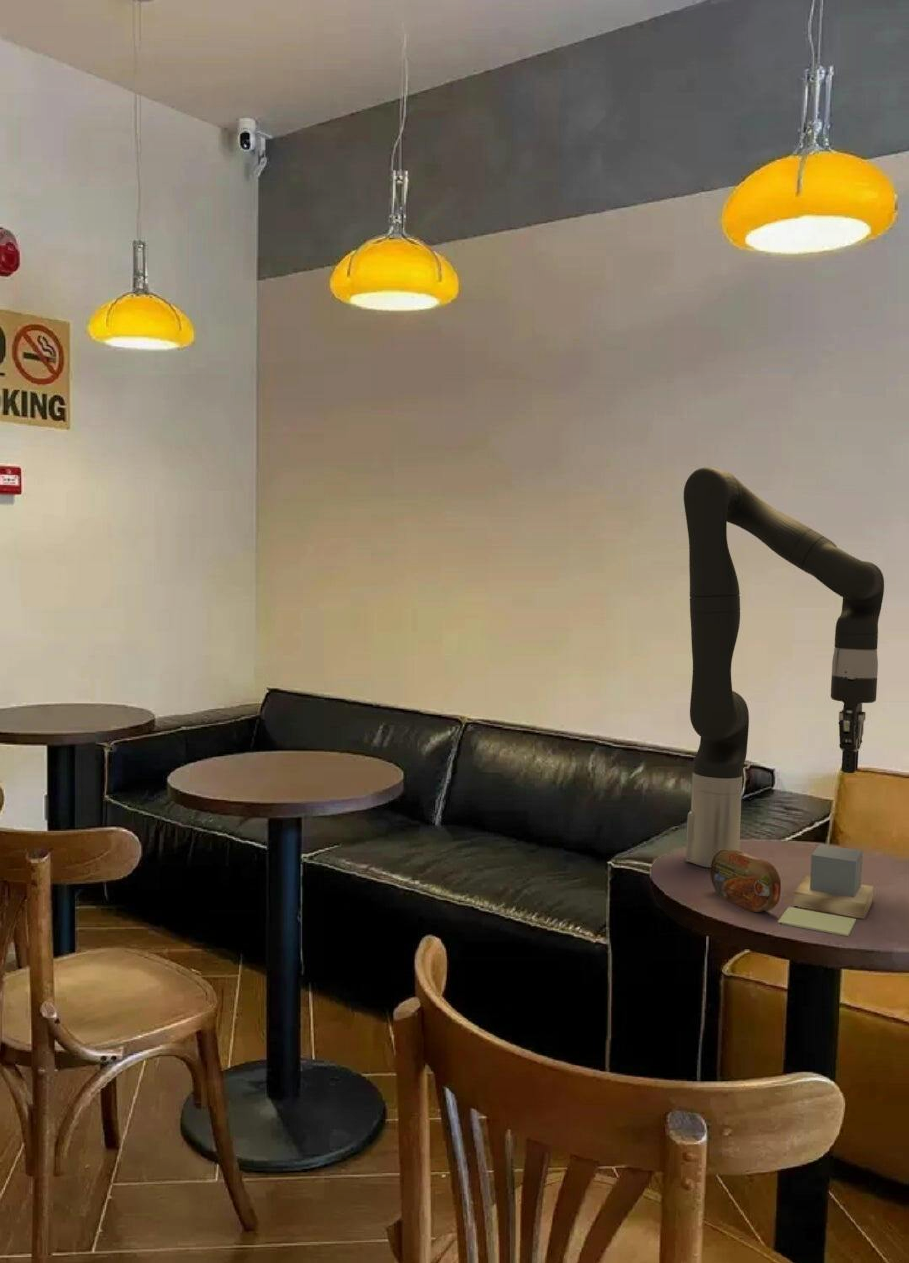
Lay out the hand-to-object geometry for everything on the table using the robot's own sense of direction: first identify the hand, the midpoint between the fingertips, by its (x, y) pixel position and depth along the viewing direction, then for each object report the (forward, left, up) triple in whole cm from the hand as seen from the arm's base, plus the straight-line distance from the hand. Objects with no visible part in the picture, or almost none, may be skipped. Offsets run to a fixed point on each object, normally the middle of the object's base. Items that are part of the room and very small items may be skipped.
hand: (849, 771), depth 178 cm
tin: (-13, -19, -21) cm, 32 cm away
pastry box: (0, -10, -19) cm, 21 cm away
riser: (0, -11, -21) cm, 24 cm away
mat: (-1, -22, -21) cm, 30 cm away
